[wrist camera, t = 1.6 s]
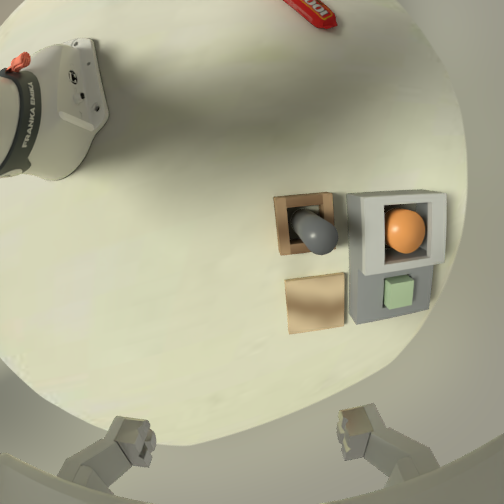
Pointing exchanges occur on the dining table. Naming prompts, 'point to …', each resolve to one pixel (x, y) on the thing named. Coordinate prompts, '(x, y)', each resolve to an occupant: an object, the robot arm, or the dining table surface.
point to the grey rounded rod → (314, 231)
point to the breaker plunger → (403, 230)
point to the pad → (315, 302)
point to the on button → (398, 291)
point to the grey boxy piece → (391, 251)
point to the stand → (296, 201)
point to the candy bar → (314, 12)
